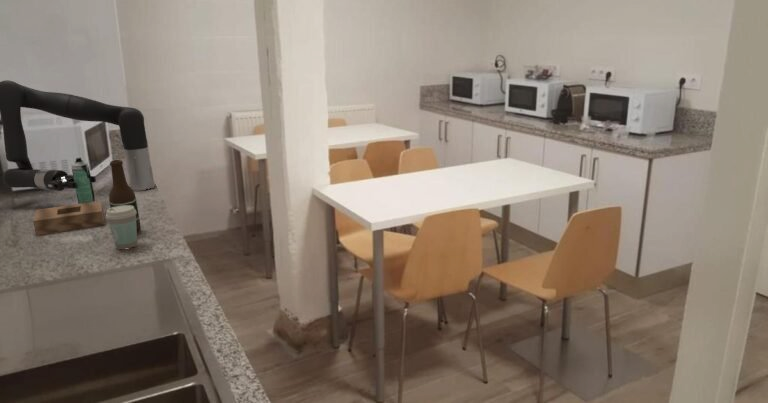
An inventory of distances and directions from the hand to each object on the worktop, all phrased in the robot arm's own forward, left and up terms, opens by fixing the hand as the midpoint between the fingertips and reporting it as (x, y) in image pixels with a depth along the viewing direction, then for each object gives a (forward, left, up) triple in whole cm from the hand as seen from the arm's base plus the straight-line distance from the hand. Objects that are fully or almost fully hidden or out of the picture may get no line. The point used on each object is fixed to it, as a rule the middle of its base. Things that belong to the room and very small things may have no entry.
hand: (85, 182), depth 203 cm
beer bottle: (-11, +33, -11) cm, 37 cm away
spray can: (+1, -1, -11) cm, 11 cm away
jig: (+6, +13, -11) cm, 18 cm away
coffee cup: (-10, +46, -11) cm, 49 cm away
